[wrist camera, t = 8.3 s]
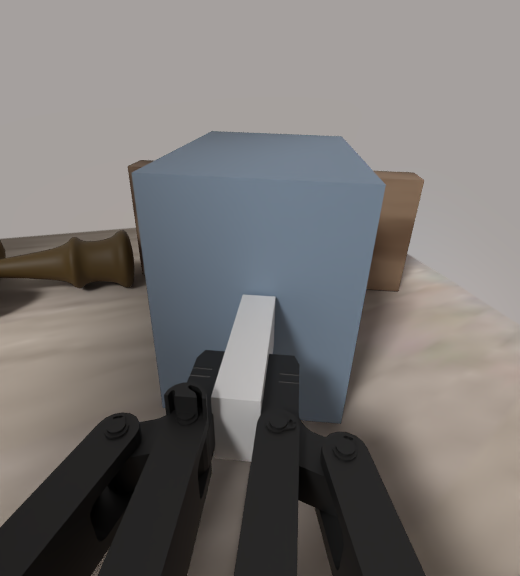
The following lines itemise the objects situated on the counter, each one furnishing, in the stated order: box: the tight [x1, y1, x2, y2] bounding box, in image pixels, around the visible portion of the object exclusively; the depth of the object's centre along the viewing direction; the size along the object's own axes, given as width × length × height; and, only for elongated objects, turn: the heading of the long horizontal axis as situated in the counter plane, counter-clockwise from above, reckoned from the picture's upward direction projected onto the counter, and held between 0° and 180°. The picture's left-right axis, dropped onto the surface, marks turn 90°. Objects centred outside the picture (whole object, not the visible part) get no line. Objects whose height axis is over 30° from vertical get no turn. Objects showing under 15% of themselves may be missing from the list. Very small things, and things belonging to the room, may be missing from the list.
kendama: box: [0, 230, 134, 288], centre depth 30 cm, size 6×10×20 cm
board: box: [128, 160, 424, 291], centre depth 34 cm, size 3×24×10 cm, turn 85°
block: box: [132, 131, 386, 424], centre depth 25 cm, size 16×10×13 cm, turn 175°
